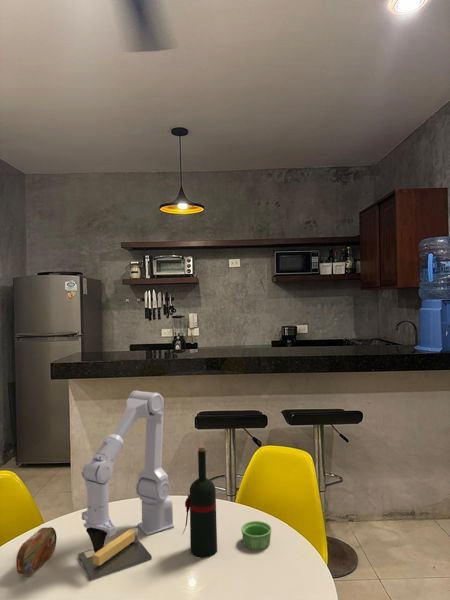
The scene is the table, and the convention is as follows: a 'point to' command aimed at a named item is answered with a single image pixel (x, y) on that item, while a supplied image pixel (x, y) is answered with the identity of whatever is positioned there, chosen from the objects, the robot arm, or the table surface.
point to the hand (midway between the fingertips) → (98, 552)
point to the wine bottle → (202, 512)
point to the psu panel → (115, 560)
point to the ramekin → (256, 534)
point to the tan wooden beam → (115, 546)
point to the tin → (36, 551)
